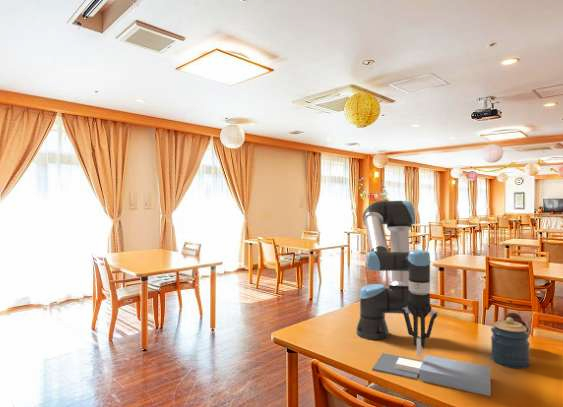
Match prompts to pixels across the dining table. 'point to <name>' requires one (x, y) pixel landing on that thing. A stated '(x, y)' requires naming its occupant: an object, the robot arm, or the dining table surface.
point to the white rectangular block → (408, 365)
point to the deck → (456, 374)
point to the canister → (510, 344)
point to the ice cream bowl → (516, 319)
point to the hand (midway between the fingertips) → (419, 354)
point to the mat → (393, 366)
